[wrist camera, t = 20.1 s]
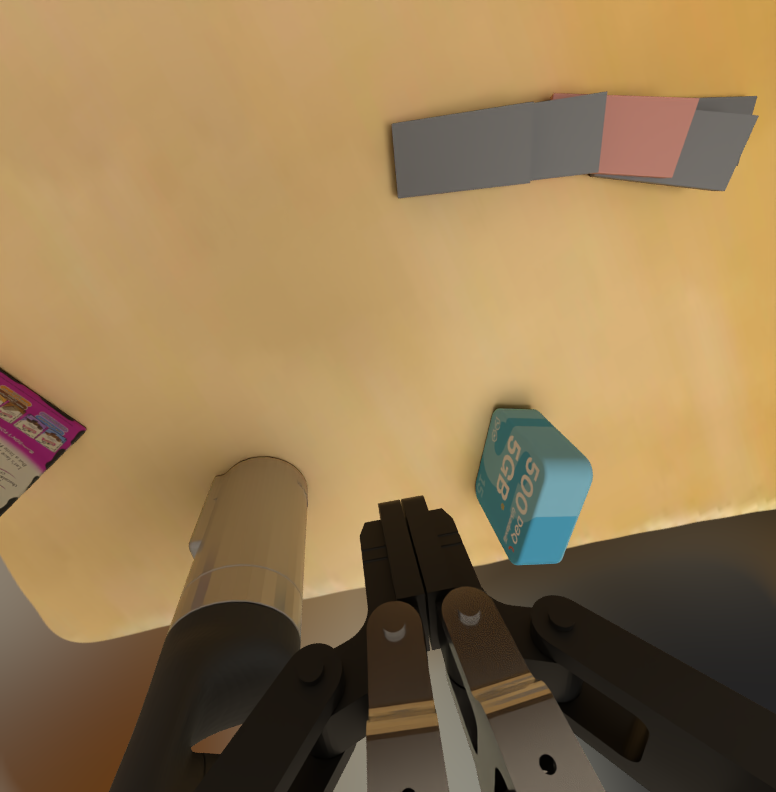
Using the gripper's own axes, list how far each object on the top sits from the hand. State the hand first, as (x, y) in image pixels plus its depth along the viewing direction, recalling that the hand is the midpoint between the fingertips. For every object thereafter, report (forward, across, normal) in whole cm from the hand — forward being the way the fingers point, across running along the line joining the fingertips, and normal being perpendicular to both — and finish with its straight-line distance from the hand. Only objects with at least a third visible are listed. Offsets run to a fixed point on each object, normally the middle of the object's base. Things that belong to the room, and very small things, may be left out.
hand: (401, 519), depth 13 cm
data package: (+27, -15, +18) cm, 36 cm away
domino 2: (+26, -11, -12) cm, 31 cm away
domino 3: (+26, -18, -13) cm, 34 cm away
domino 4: (+26, -23, -12) cm, 36 cm away
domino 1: (+26, -5, -12) cm, 29 cm away
